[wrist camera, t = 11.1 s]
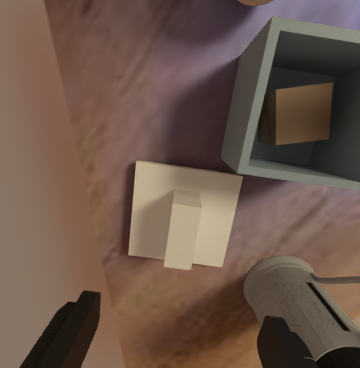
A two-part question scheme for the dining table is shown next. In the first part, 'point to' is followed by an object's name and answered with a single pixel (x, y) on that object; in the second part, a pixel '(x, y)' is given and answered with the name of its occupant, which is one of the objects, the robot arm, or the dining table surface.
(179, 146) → the dining table surface
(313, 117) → the walnut block
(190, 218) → the lid
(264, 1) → the egg
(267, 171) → the tin box
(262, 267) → the glass holder
